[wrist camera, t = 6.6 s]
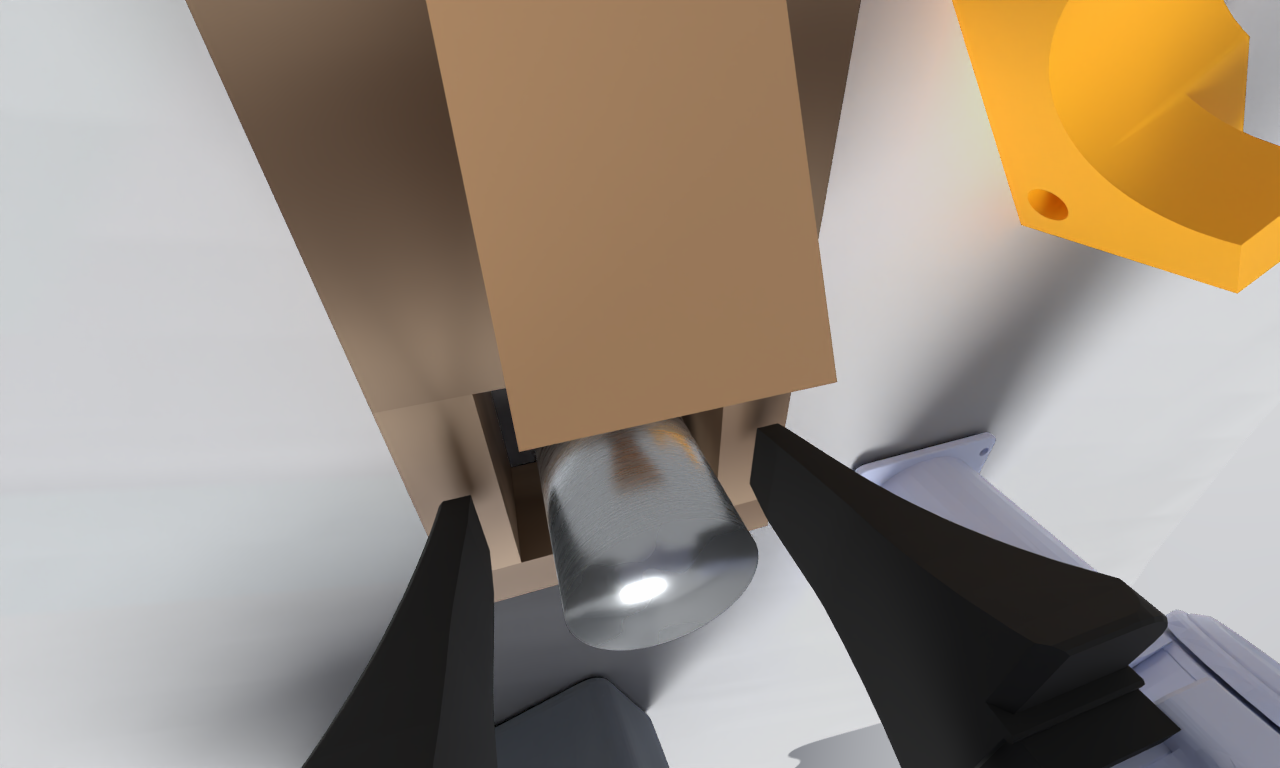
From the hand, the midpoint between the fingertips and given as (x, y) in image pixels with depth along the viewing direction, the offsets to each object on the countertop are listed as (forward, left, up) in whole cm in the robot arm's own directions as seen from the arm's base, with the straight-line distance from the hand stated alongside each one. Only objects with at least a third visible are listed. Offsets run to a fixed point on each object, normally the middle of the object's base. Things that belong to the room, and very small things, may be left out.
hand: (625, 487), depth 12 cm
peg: (0, 0, -5) cm, 5 cm away
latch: (+8, 0, +1) cm, 8 cm away
